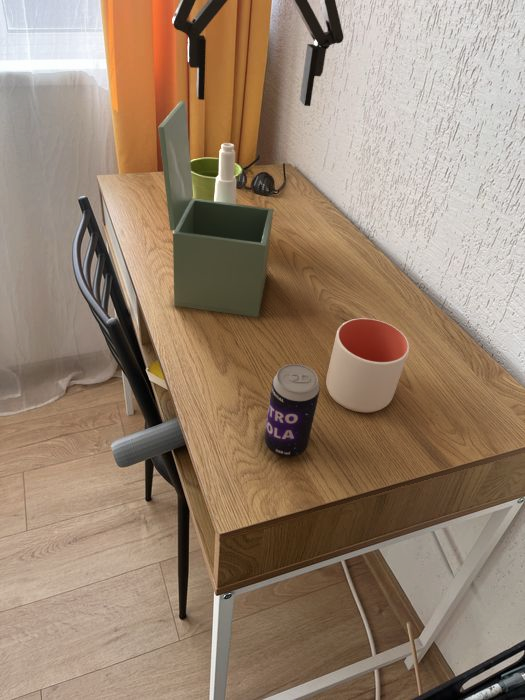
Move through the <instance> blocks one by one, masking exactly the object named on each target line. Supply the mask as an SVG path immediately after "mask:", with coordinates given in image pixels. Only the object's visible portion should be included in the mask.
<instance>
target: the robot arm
mask: <svg viewBox="0 0 525 700" xmlns="http://www.w3.org/2000/svg"><path fill="white" fill-rule="evenodd" d="M196 1H197V0H179V3H178V5H177V8H176V10H175V12H174V14H173V17H172V24H173V27H174V29H175V30H176V31H179V32H182V33H184V34H185V35H186V36H187V42H188V43H187V62H188V64H189V68H191V69H196V97H197V100H201V101H205V90H206V89H205V87H206V57H207V56H206V54H207V53H206V52H207V50H206V48H207V39H206V36H205V35H202V33H203V31H204V30H206V28H207V27H208V25H209V24H210V23H211V22H212V20H213V19H214V18H215V17H216V15H217V14H218V13H219V11H220V10H221V9H222V8H223V7H224V5H226V3H227V2H228V0H207V1H206V2H205V3H204V5H203V6H202V7H201V8H200V10H199V11H198V12H197V14H195V16H194V17H193V18H192V20H189V19H188V18H189V17H190V14H191V13H192V10H193V7H194V5H195V3H196ZM291 2H292V3H293V5H294V7H295V9H296V11H297V12H298V15H299V16H300V18H301V20H302V22H303V24H304V25H305V27H306V29H307V31H308V33H309V35H310V36H311V38H312V40H313V42H314V43H313V44H311V43H306V51H305V57H304V58H305V59H304V66H303V73H302V74H303V76H302V81H301V88H300V89H301V90H300V96H299V101H300V102H301V103H302V104H303V106H304V107H311V104H312V97H313V96H312V95H313V88H314V83H315V77H321V76H322V74H323V72H324V66H325V60H326V54H327V53H326V52H327V50H328V49H329V48H330V46H331V45H335V44H341V43H342V42H343V40H344V39H345V38H344V37H345V36H344V32H343V27H342V23H341V19H340V15H339V10H338V6H337V3H336V0H319V2H320V7H321V10H322V15H323V19H324V23H325V28H326V31H324V30H323V27H322V25H321V23H320V21H319V20H318V18H317V16H316V13H315V12H314V10H313V8H312V7H311V4H310V3H309V1H308V0H291Z"/></svg>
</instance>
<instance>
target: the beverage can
mask: <svg viewBox="0 0 525 700" xmlns="http://www.w3.org/2000/svg"><path fill="white" fill-rule="evenodd" d="M271 382H272V383H271V388H270V389H271V390H270V396H269V402H268V403H269V404H268V410H267V417H266V424H265V432H264V443H265V446H266V447H267V448H268V450H269V451H270V452H271V453H273V454H275V455H276V456H279V457H284V458H294V457H297V456H300V455H301V454H303V453H304V452H305V451H306V450H307V448H308V445H309V440H310V435H311V431H312V427H313V423H314V419H315V414H316V409H317V404H318V400H319V395H320V391H321V385H320V383H319V377H318V374H317V373H316V372H315V371H314V370H313V368H310V367H309V366H308V365H304V364H300V363H290V364H289V363H288V364H286V365H283V366H282V367H280V368H279V369H278V371H277V373H276V375H274V377H273V379H272V381H271Z"/></svg>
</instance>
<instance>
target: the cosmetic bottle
mask: <svg viewBox="0 0 525 700" xmlns="http://www.w3.org/2000/svg"><path fill="white" fill-rule="evenodd" d="M218 156H219V157H218V158H219V175H218V176H217V177H216V186H215V197H214V201H216V202H224V203H232V204H237V184H236V178H235V177H234V170H235V163H236V150H235V145H234V144H233V143H230V142H223V143H222V144H221V147H220V150H219V155H218Z"/></svg>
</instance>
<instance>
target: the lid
mask: <svg viewBox="0 0 525 700" xmlns="http://www.w3.org/2000/svg"><path fill="white" fill-rule="evenodd" d="M188 126H189V125H188V115H187V103H186V100H180V101H179V102H178V103H177V105H176V106H175V107H174V108H173V109H172V111H171V112H170V113H169V114H168V115H167V116H166V118H164V119H163V121H162V122H161V123H160V124H159V126H158V127H157V128H158V136H159V146H160V154H161V163H162V171H163V179H164V180H163V181H164V188H165V197H166V198H165V199H166V204H167V213H168V222H169V230H170V231H173V232H174V231H175V230H176V228H177V226H178V224H179V222H180V220H181V218H182V216H183V214H184V212H185V210H186V208H187V206H188V205H189V203H190V201H191V199H192V198H194V196H193V187H192V175H191V163H190V161H191V152H190V140H189V139H190V138H189V127H188Z"/></svg>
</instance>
